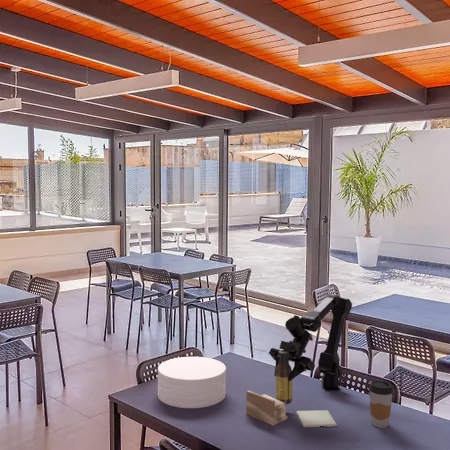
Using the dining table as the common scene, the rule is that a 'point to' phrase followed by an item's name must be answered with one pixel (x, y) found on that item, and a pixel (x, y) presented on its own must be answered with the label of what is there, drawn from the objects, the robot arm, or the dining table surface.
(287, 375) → the sauce bottle
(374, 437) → the dining table surface
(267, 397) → the offcut rack
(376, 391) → the coffee cup
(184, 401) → the plate stack
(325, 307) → the robot arm
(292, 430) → the dining table surface
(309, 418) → the cream tile board
